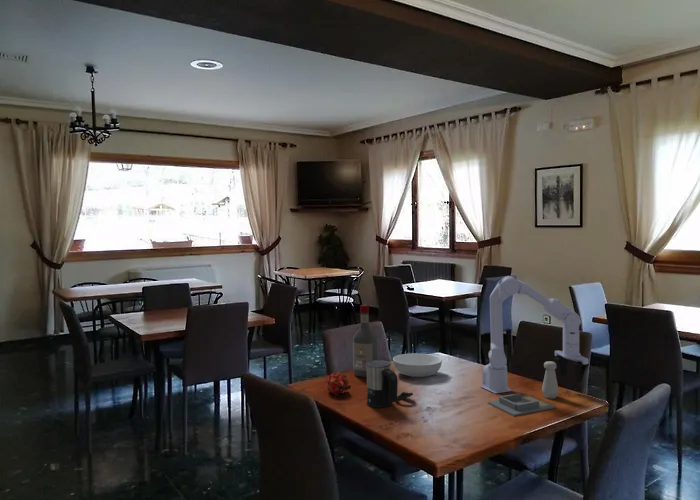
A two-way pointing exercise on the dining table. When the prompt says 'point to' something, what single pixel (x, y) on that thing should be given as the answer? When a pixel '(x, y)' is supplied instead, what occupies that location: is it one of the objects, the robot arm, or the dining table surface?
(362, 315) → the liquor
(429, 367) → the serving bowl
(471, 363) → the dining table surface
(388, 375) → the milk frother
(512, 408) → the stand
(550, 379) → the salt shaker
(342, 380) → the dragon fruit
